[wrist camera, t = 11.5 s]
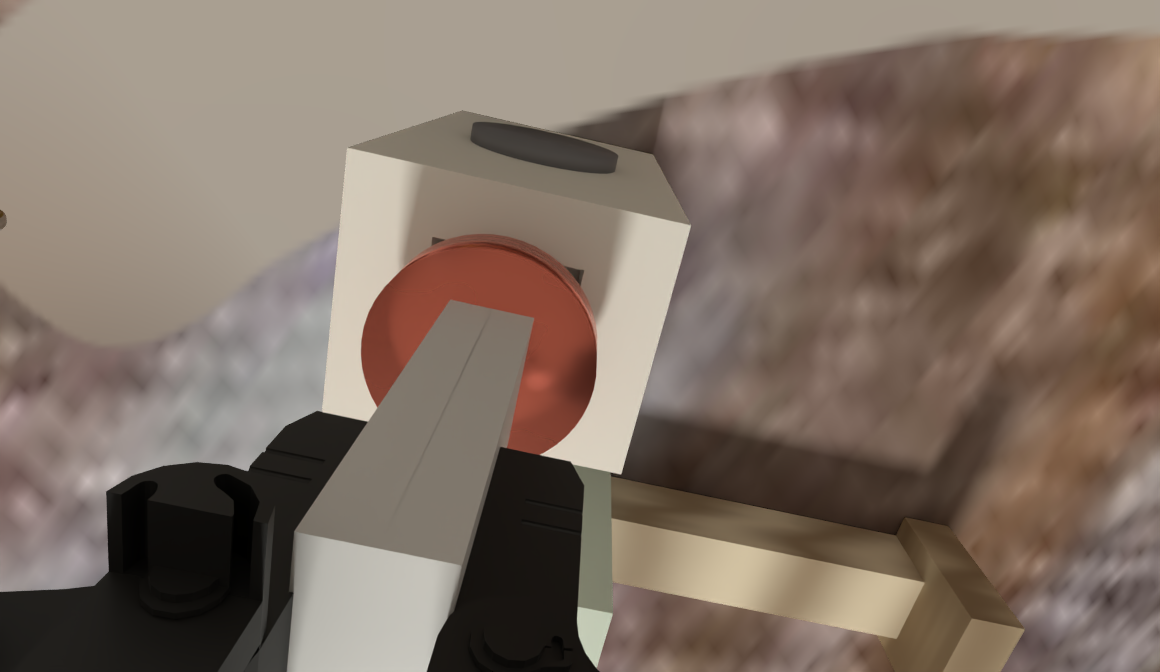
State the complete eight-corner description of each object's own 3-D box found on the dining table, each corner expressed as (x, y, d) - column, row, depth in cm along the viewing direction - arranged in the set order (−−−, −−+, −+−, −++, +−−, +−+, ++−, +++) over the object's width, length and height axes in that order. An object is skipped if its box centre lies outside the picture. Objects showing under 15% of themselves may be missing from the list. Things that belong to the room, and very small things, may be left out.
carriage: (610, 448, 29) (612, 613, 21) (579, 562, 32) (570, 755, 23) (445, 414, 29) (376, 566, 20) (426, 531, 31) (355, 715, 22)
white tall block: (656, 143, 25) (696, 205, 14) (614, 307, 28) (621, 474, 16) (464, 99, 25) (349, 126, 14) (438, 269, 27) (321, 412, 16)
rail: (948, 526, 31) (1025, 629, 25) (904, 614, 32) (967, 728, 27) (357, 402, 29) (299, 482, 24) (346, 501, 31) (289, 596, 26)
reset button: (617, 225, 16) (621, 279, 12) (577, 391, 18) (569, 486, 14) (432, 184, 16) (374, 224, 12) (408, 354, 18) (350, 441, 14)
